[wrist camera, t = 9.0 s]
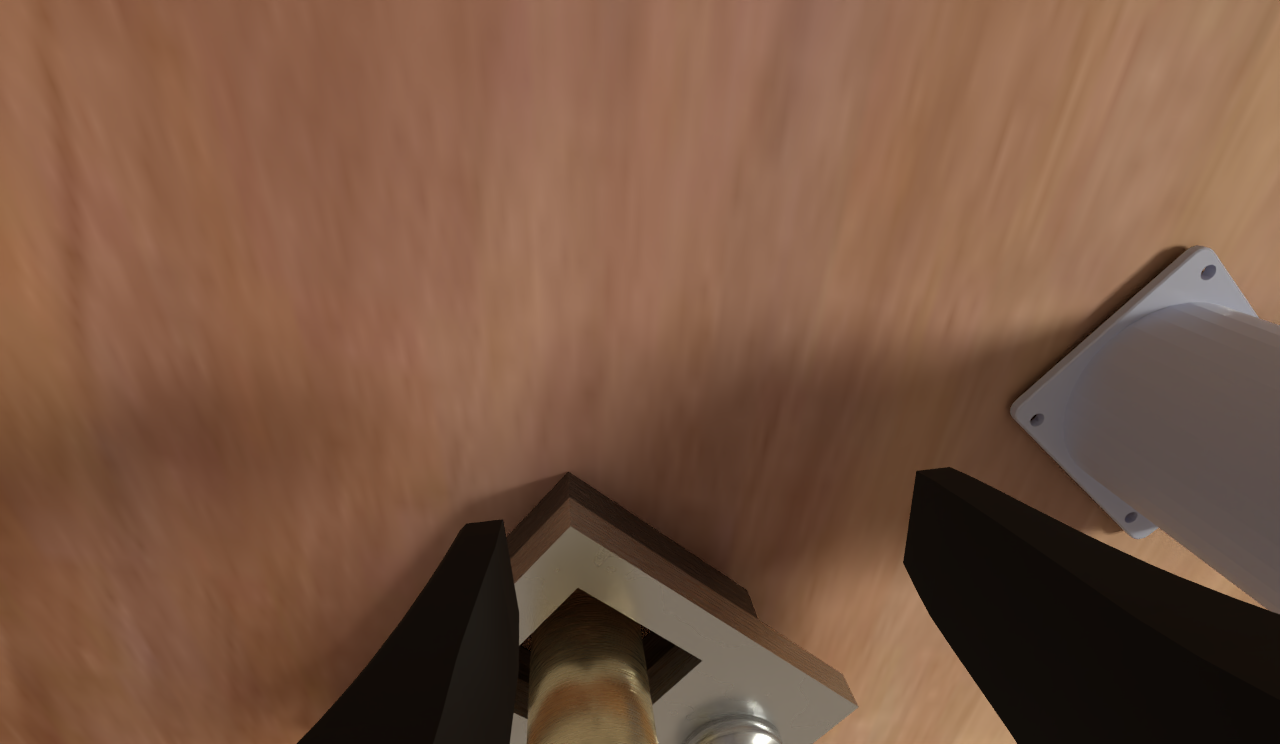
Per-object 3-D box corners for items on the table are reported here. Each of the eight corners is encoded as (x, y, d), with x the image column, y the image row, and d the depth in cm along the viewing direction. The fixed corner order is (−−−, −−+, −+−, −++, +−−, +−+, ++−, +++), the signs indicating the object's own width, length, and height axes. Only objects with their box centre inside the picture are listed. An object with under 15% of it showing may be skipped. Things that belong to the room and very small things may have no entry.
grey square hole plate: (416, 633, 25) (393, 724, 21) (568, 471, 23) (570, 543, 19) (683, 766, 30) (699, 857, 26) (828, 644, 28) (867, 725, 24)
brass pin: (658, 601, 26) (705, 848, 17) (591, 664, 26) (606, 925, 18) (578, 552, 24) (589, 796, 16) (510, 620, 25) (488, 882, 17)
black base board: (568, 471, 23) (569, 512, 21) (747, 590, 26) (764, 635, 24) (341, 712, 26) (323, 768, 24) (525, 791, 29) (523, 846, 27)
